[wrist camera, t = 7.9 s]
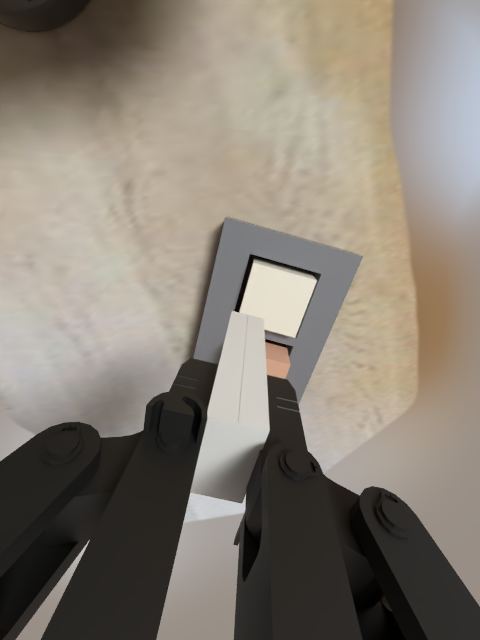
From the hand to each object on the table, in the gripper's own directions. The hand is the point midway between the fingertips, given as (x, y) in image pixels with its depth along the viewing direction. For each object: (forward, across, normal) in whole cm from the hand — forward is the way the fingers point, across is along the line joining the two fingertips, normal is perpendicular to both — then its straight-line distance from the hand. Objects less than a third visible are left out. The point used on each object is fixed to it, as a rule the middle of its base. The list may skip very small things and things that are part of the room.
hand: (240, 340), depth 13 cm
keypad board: (+16, +3, -10) cm, 19 cm away
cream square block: (+16, +3, -2) cm, 17 cm away
